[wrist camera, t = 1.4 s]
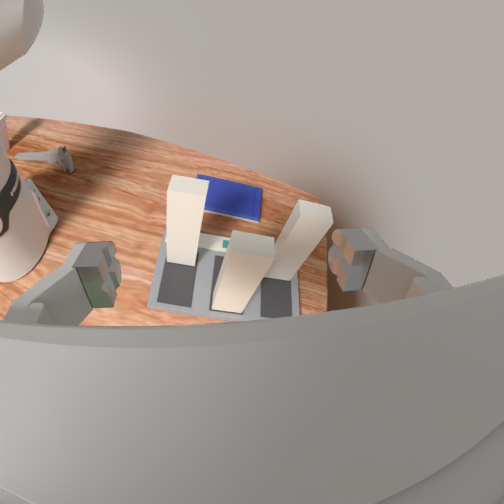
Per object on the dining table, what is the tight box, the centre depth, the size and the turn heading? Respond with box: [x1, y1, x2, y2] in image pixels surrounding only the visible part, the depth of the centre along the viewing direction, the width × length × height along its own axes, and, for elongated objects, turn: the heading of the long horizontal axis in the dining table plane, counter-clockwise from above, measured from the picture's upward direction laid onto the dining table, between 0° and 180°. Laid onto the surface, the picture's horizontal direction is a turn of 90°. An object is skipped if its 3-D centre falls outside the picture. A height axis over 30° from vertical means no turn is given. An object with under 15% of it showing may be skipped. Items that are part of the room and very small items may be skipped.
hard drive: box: [196, 174, 262, 223], centre depth 49 cm, size 2×8×12 cm
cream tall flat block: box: [212, 230, 275, 313], centre depth 31 cm, size 2×4×14 cm, turn 88°
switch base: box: [147, 227, 300, 322], centre depth 40 cm, size 13×21×1 cm, turn 88°
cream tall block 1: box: [167, 175, 209, 266], centre depth 33 cm, size 2×4×14 cm, turn 88°
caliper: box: [14, 146, 75, 173], centre depth 41 cm, size 20×1×6 cm, turn 78°
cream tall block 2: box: [264, 199, 333, 281], centre depth 36 cm, size 2×4×14 cm, turn 88°
